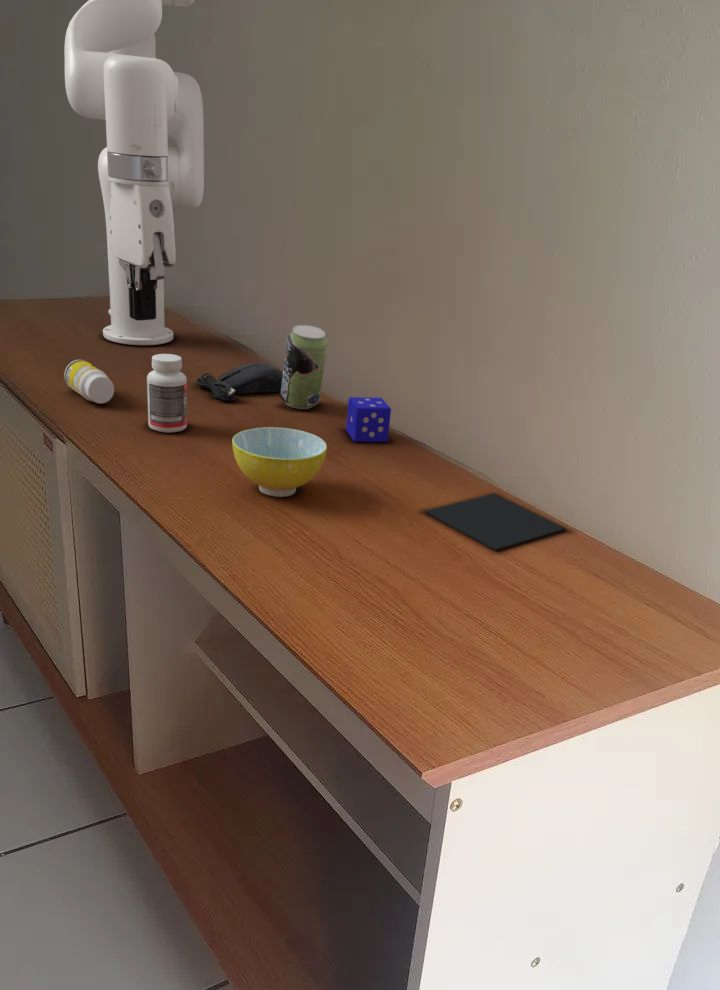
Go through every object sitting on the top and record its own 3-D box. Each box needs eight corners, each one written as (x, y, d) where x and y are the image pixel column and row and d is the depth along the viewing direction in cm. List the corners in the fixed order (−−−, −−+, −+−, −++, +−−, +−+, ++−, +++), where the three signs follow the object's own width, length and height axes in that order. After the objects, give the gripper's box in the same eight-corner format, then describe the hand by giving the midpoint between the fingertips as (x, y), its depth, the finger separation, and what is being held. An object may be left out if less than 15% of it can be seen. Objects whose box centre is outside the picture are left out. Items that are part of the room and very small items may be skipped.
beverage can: (301, 397, 149) (305, 319, 143) (332, 410, 145) (338, 330, 139) (270, 403, 145) (273, 323, 139) (302, 416, 141) (306, 335, 135)
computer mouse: (302, 394, 151) (304, 370, 149) (222, 404, 143) (223, 378, 141) (269, 377, 158) (270, 354, 156) (191, 385, 150) (191, 361, 148)
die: (346, 430, 137) (348, 396, 135) (378, 430, 139) (382, 397, 136) (354, 442, 133) (357, 407, 131) (387, 442, 134) (391, 408, 132)
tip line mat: (425, 512, 114) (425, 510, 113) (494, 495, 120) (494, 493, 120) (495, 551, 106) (496, 549, 106) (565, 530, 113) (565, 528, 112)
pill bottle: (193, 431, 131) (193, 361, 126) (157, 435, 129) (155, 363, 124) (177, 419, 135) (176, 350, 130) (142, 423, 132) (139, 353, 127)
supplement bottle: (99, 379, 144) (122, 395, 138) (73, 396, 143) (96, 413, 137) (84, 352, 140) (107, 367, 135) (57, 369, 139) (79, 385, 134)
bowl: (304, 469, 122) (307, 423, 119) (337, 504, 113) (341, 455, 110) (220, 476, 118) (220, 428, 115) (247, 512, 109) (248, 461, 106)
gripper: (193, 177, 117) (194, 329, 126) (137, 165, 127) (142, 306, 136) (138, 176, 113) (143, 332, 122) (85, 163, 122) (93, 309, 132)
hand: (143, 318), depth 129 cm, fingers closed
